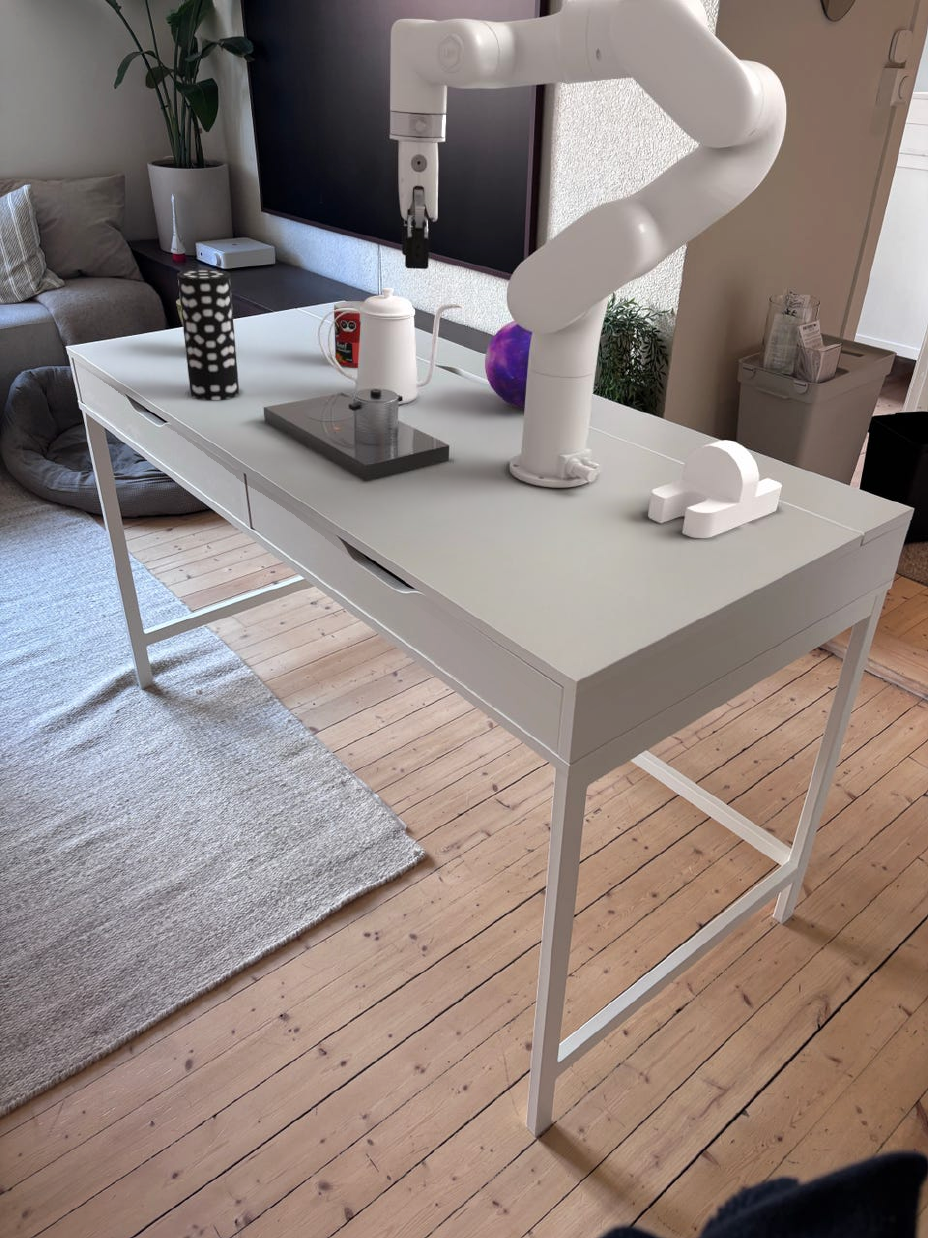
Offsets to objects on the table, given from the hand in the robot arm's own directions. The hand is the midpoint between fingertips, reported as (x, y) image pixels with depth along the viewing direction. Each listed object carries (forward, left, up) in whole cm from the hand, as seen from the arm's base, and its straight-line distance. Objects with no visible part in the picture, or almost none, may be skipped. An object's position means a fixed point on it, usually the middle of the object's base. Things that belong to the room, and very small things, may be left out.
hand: (414, 261), depth 135 cm
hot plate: (+5, +8, -27) cm, 28 cm away
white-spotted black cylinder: (+38, +16, -27) cm, 49 cm away
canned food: (+42, -16, -27) cm, 52 cm away
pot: (-2, +8, -24) cm, 26 cm away
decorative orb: (+4, -27, -27) cm, 39 cm away
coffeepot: (+20, -9, -27) cm, 35 cm away
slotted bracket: (-45, -18, -27) cm, 56 cm away
